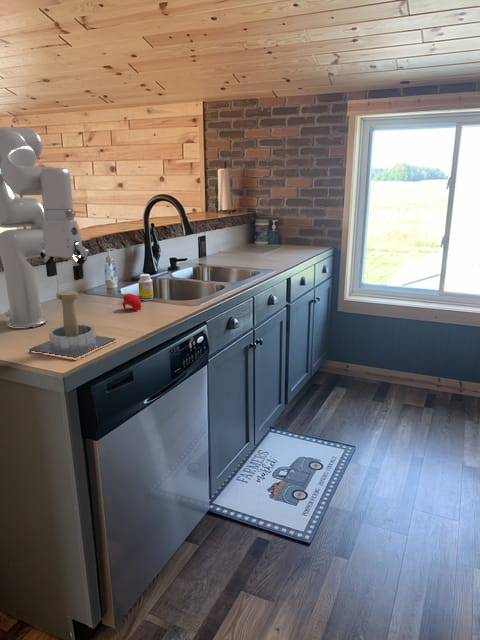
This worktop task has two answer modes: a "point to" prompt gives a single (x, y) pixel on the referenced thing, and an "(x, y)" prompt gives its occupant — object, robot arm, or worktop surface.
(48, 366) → the worktop surface
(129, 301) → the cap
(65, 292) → the handle
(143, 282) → the supplement bottle
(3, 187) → the robot arm
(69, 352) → the duct collar
